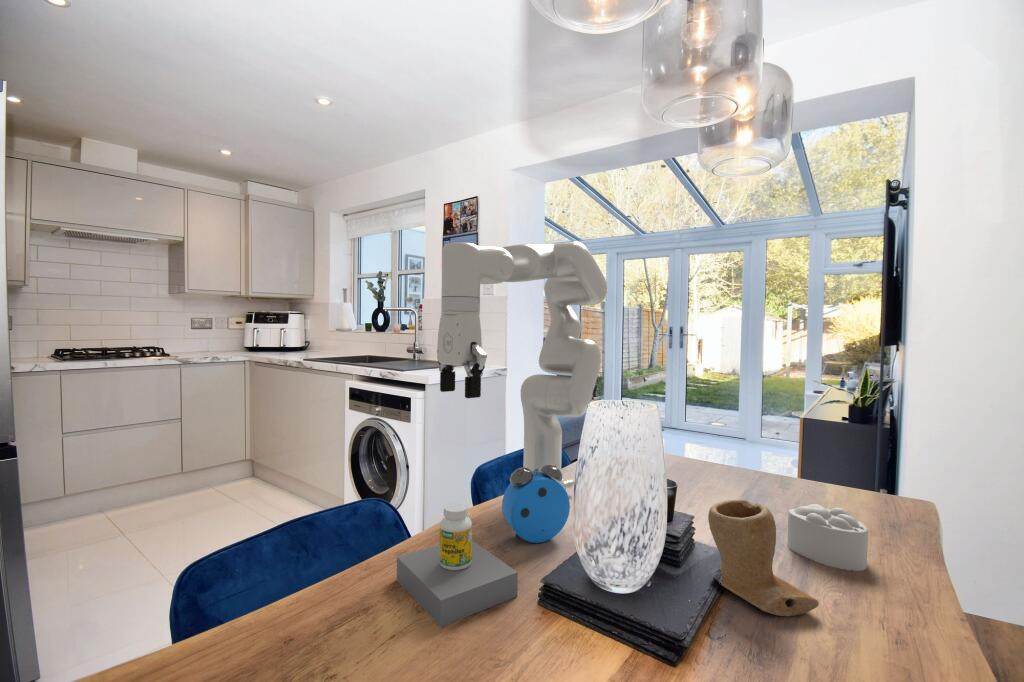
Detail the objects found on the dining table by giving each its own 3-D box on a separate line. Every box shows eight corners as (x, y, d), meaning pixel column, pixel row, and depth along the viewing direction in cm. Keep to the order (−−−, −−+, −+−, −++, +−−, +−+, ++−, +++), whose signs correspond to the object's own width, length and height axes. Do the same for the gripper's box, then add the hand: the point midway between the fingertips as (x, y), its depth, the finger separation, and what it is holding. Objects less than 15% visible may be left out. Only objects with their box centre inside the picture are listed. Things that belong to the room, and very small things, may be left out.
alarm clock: (557, 527, 106) (558, 459, 105) (570, 539, 100) (572, 467, 99) (500, 536, 101) (501, 465, 100) (511, 549, 95) (512, 474, 95)
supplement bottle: (474, 556, 84) (474, 501, 83) (468, 572, 78) (469, 514, 78) (443, 554, 84) (444, 500, 84) (435, 570, 79) (436, 512, 79)
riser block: (466, 557, 92) (466, 536, 92) (517, 596, 79) (517, 572, 79) (396, 579, 83) (396, 556, 83) (440, 627, 71) (440, 600, 70)
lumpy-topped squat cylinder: (813, 537, 103) (814, 496, 103) (880, 565, 91) (882, 519, 91) (779, 545, 99) (781, 503, 99) (846, 576, 87) (848, 528, 87)
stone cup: (691, 578, 85) (693, 494, 85) (745, 568, 89) (748, 488, 89) (760, 630, 71) (763, 529, 70) (820, 616, 75) (824, 520, 74)
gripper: (423, 307, 99) (422, 390, 100) (467, 305, 85) (465, 402, 86) (455, 308, 104) (454, 387, 104) (501, 307, 90) (500, 398, 90)
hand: (459, 394), depth 95 cm, fingers open, 9 cm apart
